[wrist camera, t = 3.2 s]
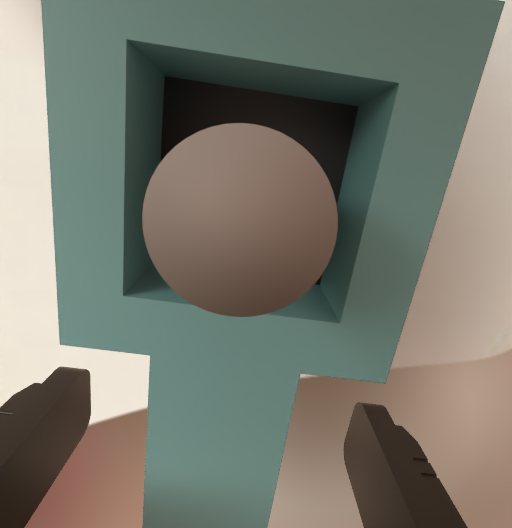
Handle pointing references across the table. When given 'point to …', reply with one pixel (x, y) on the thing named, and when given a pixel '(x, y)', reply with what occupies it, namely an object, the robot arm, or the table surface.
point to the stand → (245, 195)
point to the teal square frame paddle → (348, 209)
